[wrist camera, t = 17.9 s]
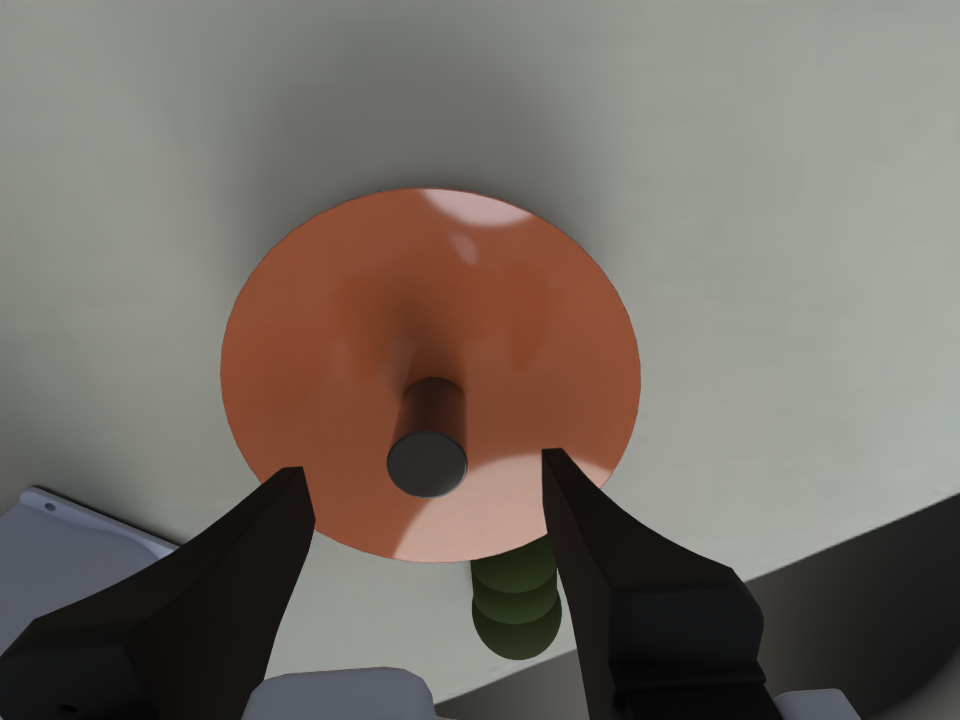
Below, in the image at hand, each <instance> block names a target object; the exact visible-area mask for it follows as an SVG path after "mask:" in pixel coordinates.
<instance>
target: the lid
mask: <svg viewBox="0 0 960 720" xmlns="http://www.w3.org/2000/svg"><path fill="white" fill-rule="evenodd" d="M220 376H221V387H222V398H223V403H224V407H225V411H226V415H227V419H228V423H229V426H230V428H231V431H232V433H233V436H234V438H235V441H236V443H237V446H238V448H239V449H240V451H241V453H242V455H243V457H244V458H245V460H246V462H247V464H248V466H249V467H250V468H251V470H252V471H253V472H254V474H255V475H256V477H257V478H258V479H259V481H260V482H261V483H262V484H263V483H264V482H265V481H266V480H268V479H269V478H270V477H271V476H272V475H274V474H275V473H276V472H277V471H279V470H280V469H281V468H283V467H297V466H303V469H304V473H305V477H306V481H307V485H308V489H309V493H310V498H311V502H312V506H313V510H314V514H315V518H316V523H315V527H314V529H315V530H316V531H318V532H320V533H322V534H324V535H326V536H328V537H329V538H331V539H333V540H335V541H337V542H339V543H342V544H344V545H347V546H349V547H352V548H355V549H357V550H360V551H363V552H366V553H370V554H373V555H377V556H381V557H385V558H390V559H396V560H402V561H409V562H423V563H448V562H460V561H468V560H476V559H480V558H485V557H489V556H493V555H498V554H501V553H504V552H507V551H510V550H513V549H516V548H518V547H521V546H523V545H526V544H528V543H530V542H532V541H534V540H536V539H538V538H540V537H542V536H544V535H546V534H547V528H546V522H545V516H544V510H543V504H542V458H541V449H547V448H561V447H562V448H563V449H564V450H565V451H566V452H567V454H568V455H569V456H570V457H571V459H572V460H573V461H574V462H575V463H576V464H577V466H578V467H579V468H580V469H581V470H582V471H583V472H584V473H585V474H586V476H587V477H588V478H589V479H590V480H591V481H592V482H593V483H594V484H595V485H596V486H597V487H598V488H599V489H601V488H602V486H603V485H604V484H605V483H606V481H607V480H608V479H609V478H610V476H611V474H612V473H613V471H614V469H615V468H616V466H617V464H618V463H619V461H620V459H621V458H622V456H623V453H624V451H625V449H626V447H627V444H628V442H629V440H630V437H631V435H632V431H633V427H634V424H635V420H636V417H637V413H638V405H639V398H640V390H641V377H640V359H639V353H638V347H637V341H636V337H635V334H634V331H633V328H632V325H631V322H630V318H629V315H628V313H627V311H626V309H625V307H624V305H623V303H622V301H621V299H620V297H619V295H618V293H617V291H616V289H615V288H614V286H613V285H612V283H611V282H610V281H609V279H608V278H607V276H606V275H605V273H604V272H603V270H602V269H601V268H600V266H599V265H598V264H597V263H596V262H595V261H594V260H593V259H592V258H591V257H590V256H589V255H588V254H587V252H586V251H585V250H584V249H583V248H582V247H581V246H580V245H579V244H577V243H576V242H575V241H574V240H572V239H571V238H570V237H569V236H567V235H566V234H565V233H564V232H563V231H561V230H560V229H559V228H558V227H556V226H555V225H553V224H551V223H550V222H548V221H546V220H545V219H543V218H541V217H540V216H538V215H536V214H535V213H533V212H531V211H530V210H527V209H525V208H522V207H520V206H518V205H515V204H513V203H511V202H508V201H506V200H504V199H501V198H497V197H494V196H490V195H486V194H482V193H479V192H475V191H471V190H463V189H456V188H448V187H404V188H397V189H391V190H384V191H377V192H374V193H371V194H367V195H364V196H361V197H357V198H354V199H350V200H347V201H345V202H343V203H341V204H339V205H336V206H334V207H332V208H330V209H328V210H326V211H323V212H321V213H319V214H317V215H315V216H314V217H312V218H311V219H309V220H308V221H306V222H305V223H303V224H302V225H300V226H299V227H297V228H296V229H294V230H293V231H291V232H290V233H289V234H288V235H287V236H285V237H284V238H283V239H282V240H281V241H280V242H279V243H278V244H277V245H275V246H274V247H273V248H272V249H271V250H270V251H269V252H268V253H267V254H266V256H265V257H264V258H263V259H262V261H261V262H260V263H259V264H258V265H257V267H256V268H255V269H254V270H253V272H252V273H251V274H250V276H249V278H248V279H247V281H246V283H245V285H244V286H243V288H242V290H241V291H240V293H239V295H238V297H237V299H236V301H235V304H234V307H233V309H232V312H231V314H230V317H229V319H228V322H227V326H226V331H225V335H224V340H223V345H222V354H221V369H220Z"/></svg>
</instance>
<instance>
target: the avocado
mask: <svg viewBox="0 0 960 720" xmlns="http://www.w3.org/2000/svg"><path fill="white" fill-rule="evenodd" d="M470 562H471V572H472V583H473V593H474V595H473V600H472V617H473V622H474V625H475V628H476V630H477V633H478V635H479V636H480V638H481V640H482V641H483V642H484V643H485V645H486V646H487V647H488V648H489V649H490V650H492V651H493V652H494V653H496V654H498V655H499V656H502V657H504V658H507V659H512V660H525V659H529V658H532V657H535V656H537V655H539V654H540V653H542V652H543V651H544V650H546V649H547V648H548V647H549V645H550V644H551V643H552V642H553V640H554V638H555V637H556V635H557V633H558V630H559V627H560V623H561V617H562V607H561V600H560V596H559V593H558V590H557V564H556V561H555V558H554V554H553V551H552V548H551V544H550V541H549V537H548V534H546V535H544V536H542V537H540V538H538V539H536V540H534V541H532V542H530V543H528V544H526V545H523V546H521V547H518V548H516V549H513V550H510V551H507V552H504V553H501V554H498V555H493V556H489V557H485V558H480V559H476V560H470Z"/></svg>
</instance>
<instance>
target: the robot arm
mask: <svg viewBox="0 0 960 720" xmlns="http://www.w3.org/2000/svg"><path fill="white" fill-rule="evenodd" d="M541 458H542V504H543V510H544V516H545V522H546V528H547V534H548V537H549V541H550V544H551V548H552V551H553V554H554V558H555V561H556V564H557V568H558V571H559V575H560V578H561V581H562V585H563V588H564V591H565V595H566V598H567V602H568V606H569V610H570V614H571V619H572V624H573V629H574V635H575V640H576V645H577V650H578V656H579V661H580V667H581V672H582V678H583V683H584V689H585V694H586V700H587V706H588V712H589V718H590V720H861V719H860V717H859V716H858V715H857V713H856V712H855V710H854V709H853V707H852V706H851V704H850V703H849V702H848V700H847V699H846V697H845V696H844V694H843V693H842V692H841V691H840V690H838V689H823V690H809V691H796V692H788V693H783V694H781V695H780V696H778V697H776V698H775V699H774V701H772V699H771V697H770V696H769V694H768V692H767V690H766V689H765V686H764V685H763V684H764V683H765V682H766V677H765V674H764V672H763V670H762V669H761V667H760V665H759V664H758V662H757V655H758V651H759V647H760V642H761V638H762V633H763V628H764V617H763V614H762V612H761V609H760V607H759V605H758V603H757V602H756V600H755V599H754V597H753V596H752V594H751V593H750V591H749V590H748V588H747V587H746V586H745V584H744V583H743V582H742V581H741V579H740V578H739V577H738V576H737V574H736V573H735V572H734V570H733V569H732V568H730V567H728V566H725V565H723V564H720V563H718V562H715V561H713V560H710V559H708V558H706V557H703V556H701V555H698V554H696V553H694V552H692V551H690V550H688V549H686V548H684V547H682V546H680V545H678V544H676V543H674V542H672V541H670V540H668V539H666V538H665V537H663V536H661V535H660V534H658V533H656V532H655V531H653V530H651V529H650V528H648V527H647V526H645V525H644V524H642V523H641V522H639V521H638V520H636V519H635V518H634V517H632V516H631V515H629V514H628V513H627V512H625V511H624V510H623V509H621V508H620V507H619V506H618V505H617V504H616V503H614V502H613V501H612V500H611V499H610V498H609V497H608V496H607V495H605V494H604V493H603V492H602V491H601V490H600V489H599V488H598V487H597V486H596V485H595V484H594V483H593V482H592V481H591V480H590V479H589V478H588V477H587V476H586V474H585V473H584V472H583V471H582V470H581V469H580V468H579V467H578V466H577V464H576V463H575V462H574V461H573V460H572V459H571V457H570V456H569V455H568V454H567V452H566V451H565V450H564V449H563V448H562V447H561V448H547V449H541ZM315 523H316V518H315V514H314V510H313V506H312V502H311V498H310V493H309V489H308V485H307V481H306V477H305V473H304V469H303V466H297V467H283V468H281V469H280V470H279V471H277V472H276V473H275V474H274V475H272V476H271V477H270V478H269V479H268V480H266V481H265V482H264V483H263V484H262V485H260V486H259V487H258V488H257V489H256V490H255V491H253V492H252V493H251V494H250V495H249V496H247V497H246V498H245V499H244V500H243V501H241V502H240V503H239V504H238V505H237V506H235V507H234V508H233V509H232V510H230V511H229V512H228V513H227V514H225V515H224V516H223V517H221V518H220V519H219V520H217V521H216V522H215V523H214V524H212V525H211V526H210V527H208V528H207V529H206V530H204V531H203V532H202V533H200V534H199V535H197V536H196V537H194V538H193V539H192V540H190V541H189V542H187V543H186V544H184V545H182V546H181V547H179V546H176V545H174V544H172V543H169V542H167V541H164V540H162V539H160V538H157V537H155V536H152V535H150V534H147V533H145V532H143V531H140V530H138V529H135V528H133V527H131V526H128V525H126V524H123V523H121V522H119V521H116V520H114V519H111V518H109V517H106V516H104V515H102V514H99V513H97V512H94V511H92V510H90V509H87V508H85V507H82V506H80V505H78V504H75V503H73V502H70V501H68V500H65V499H63V498H61V497H58V496H56V495H53V494H51V493H49V492H46V491H44V490H41V489H39V488H35V487H30V488H28V489H26V490H25V491H24V492H23V493H22V494H21V497H20V499H19V502H18V503H17V504H16V505H15V506H13V507H12V508H11V509H10V510H8V511H7V512H6V513H5V514H3V515H2V516H1V517H0V720H454V719H448V718H442V717H437V716H436V713H435V711H434V705H433V699H432V694H431V692H430V690H429V688H428V687H427V685H426V683H425V682H424V680H423V679H422V678H420V677H419V676H417V675H415V674H413V673H411V672H409V671H407V670H405V669H401V668H391V667H373V668H360V669H346V670H332V671H318V672H305V673H291V674H284V675H281V676H277V677H273V678H270V679H267V680H264V676H265V673H266V669H267V665H268V662H269V658H270V655H271V651H272V648H273V644H274V640H275V637H276V634H277V631H278V628H279V625H280V622H281V620H282V617H283V615H284V612H285V610H286V607H287V605H288V602H289V600H290V597H291V595H292V592H293V590H294V587H295V585H296V582H297V580H298V577H299V575H300V572H301V569H302V567H303V564H304V562H305V559H306V557H307V554H308V551H309V547H310V544H311V540H312V536H313V531H314V527H315ZM263 680H264V681H263Z"/></svg>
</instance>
